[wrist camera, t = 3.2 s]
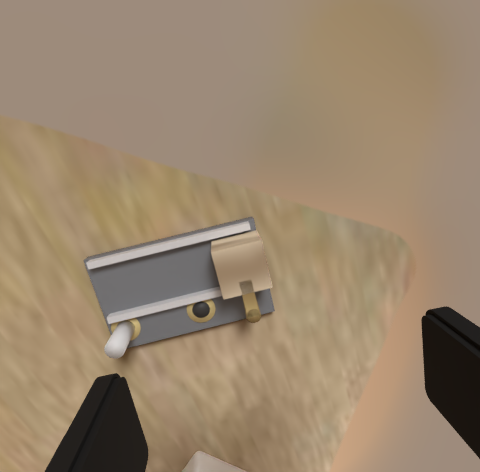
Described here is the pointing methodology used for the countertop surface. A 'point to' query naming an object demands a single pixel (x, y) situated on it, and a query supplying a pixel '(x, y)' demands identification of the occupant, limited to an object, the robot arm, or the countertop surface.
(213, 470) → the soap
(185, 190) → the countertop surface
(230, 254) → the tan slider block
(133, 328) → the switch panel
